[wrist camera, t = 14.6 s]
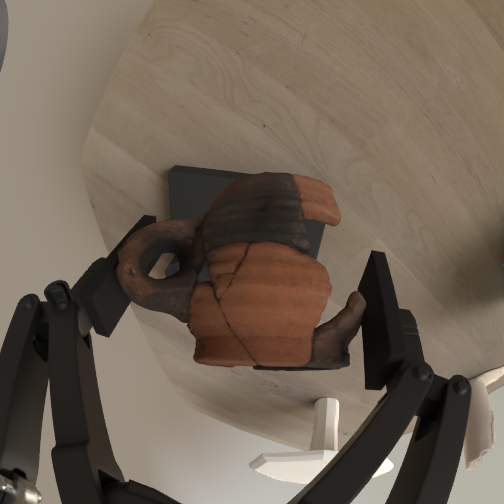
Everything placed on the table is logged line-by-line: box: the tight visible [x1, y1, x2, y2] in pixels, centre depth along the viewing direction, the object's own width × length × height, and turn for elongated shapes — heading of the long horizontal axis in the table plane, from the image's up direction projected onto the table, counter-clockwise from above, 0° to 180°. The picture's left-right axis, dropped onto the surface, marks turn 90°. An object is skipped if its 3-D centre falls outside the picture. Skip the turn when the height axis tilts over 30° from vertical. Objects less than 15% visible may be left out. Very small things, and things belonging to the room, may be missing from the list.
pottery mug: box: [116, 172, 366, 371], centre depth 15 cm, size 12×10×8 cm
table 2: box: [249, 397, 393, 484], centre depth 50 cm, size 28×28×17 cm
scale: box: [165, 165, 325, 284], centre depth 34 cm, size 18×16×4 cm
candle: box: [463, 366, 504, 471], centre depth 38 cm, size 7×14×20 cm, turn 130°
